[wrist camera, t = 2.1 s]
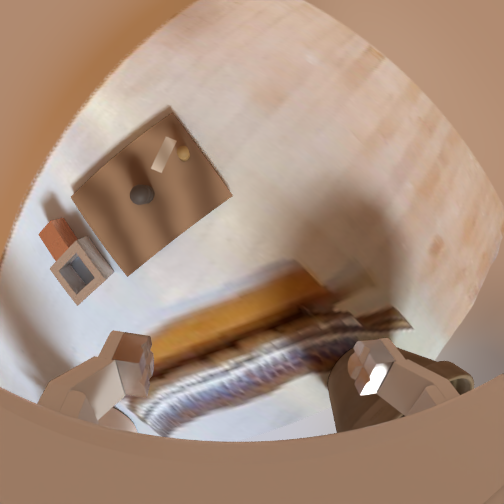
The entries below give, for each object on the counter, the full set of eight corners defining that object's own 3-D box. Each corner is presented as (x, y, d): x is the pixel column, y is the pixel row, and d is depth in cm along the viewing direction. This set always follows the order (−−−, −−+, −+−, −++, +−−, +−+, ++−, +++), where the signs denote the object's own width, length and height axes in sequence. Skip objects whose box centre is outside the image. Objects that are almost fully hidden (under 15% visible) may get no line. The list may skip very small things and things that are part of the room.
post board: (130, 273, 36) (118, 288, 30) (75, 196, 32) (54, 198, 26) (231, 195, 36) (237, 195, 30) (173, 115, 32) (168, 100, 26)
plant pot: (275, 405, 45) (313, 495, 25) (350, 296, 43) (439, 361, 22) (360, 419, 52) (404, 479, 31) (421, 335, 49) (488, 382, 29)
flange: (114, 271, 35) (105, 280, 31) (87, 295, 35) (77, 305, 31) (70, 210, 32) (57, 212, 28) (45, 237, 32) (32, 242, 28)
